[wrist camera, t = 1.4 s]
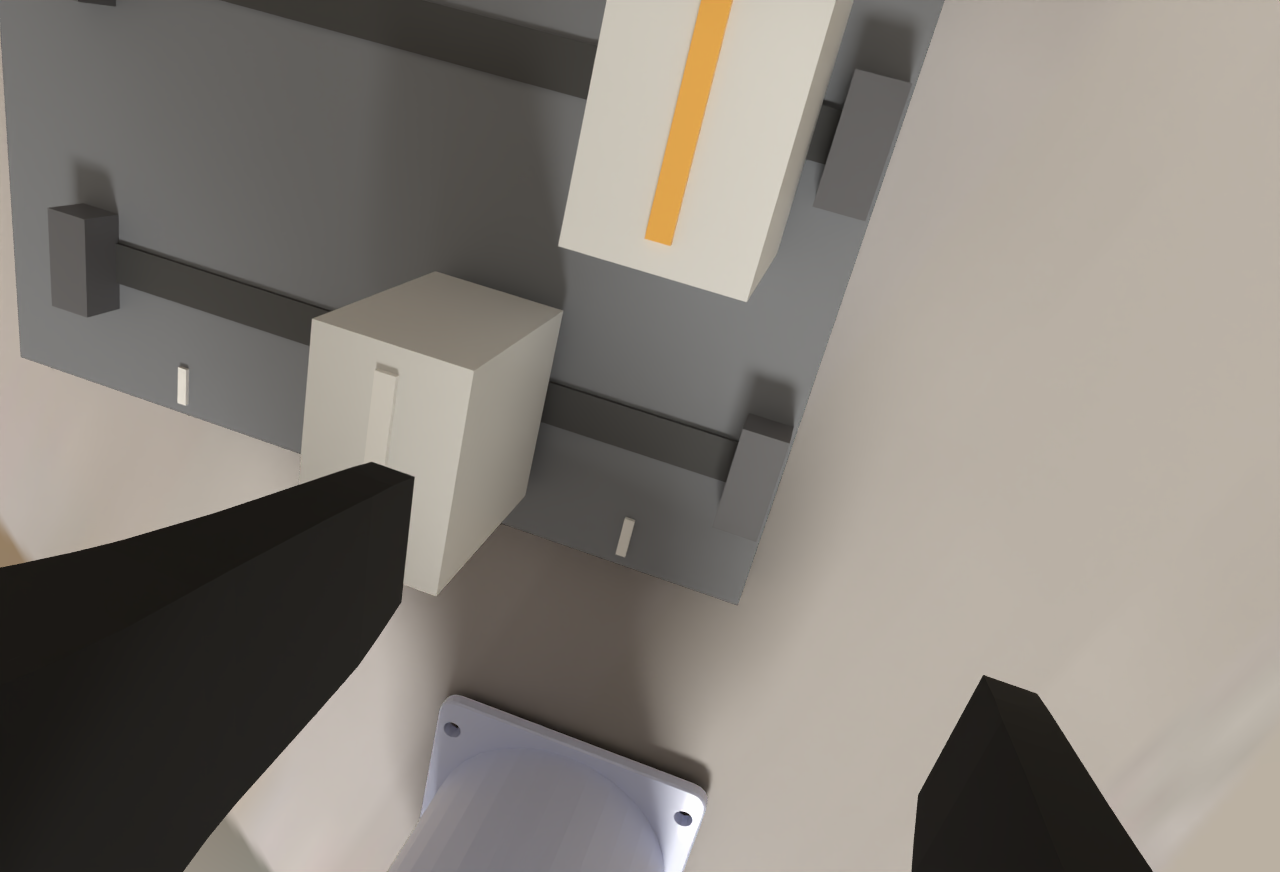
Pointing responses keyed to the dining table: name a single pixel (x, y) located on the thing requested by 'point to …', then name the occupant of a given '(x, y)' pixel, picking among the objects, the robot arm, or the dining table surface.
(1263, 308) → the dining table surface
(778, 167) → the fader knob
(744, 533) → the console board
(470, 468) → the fader knob
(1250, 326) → the dining table surface
